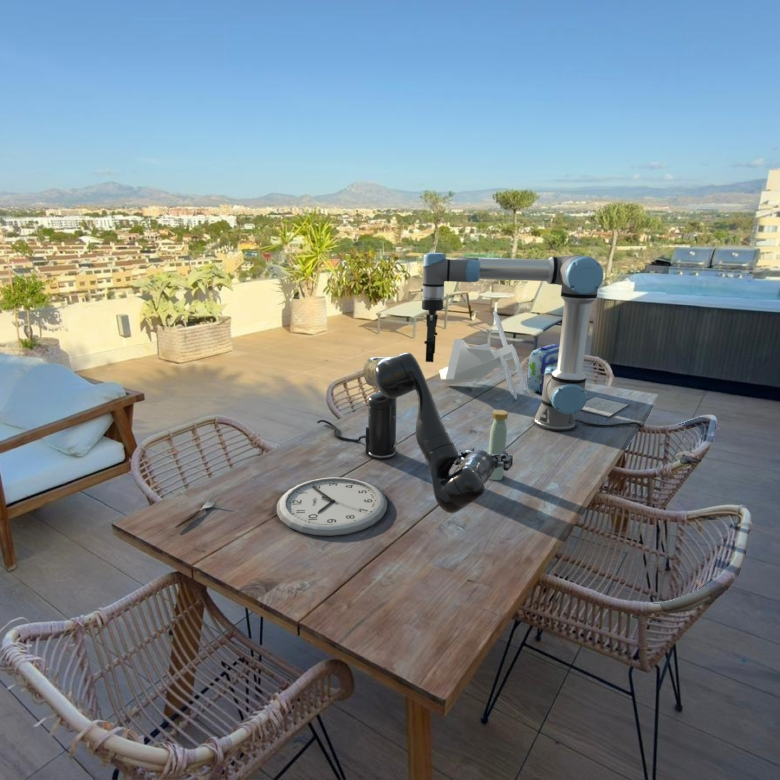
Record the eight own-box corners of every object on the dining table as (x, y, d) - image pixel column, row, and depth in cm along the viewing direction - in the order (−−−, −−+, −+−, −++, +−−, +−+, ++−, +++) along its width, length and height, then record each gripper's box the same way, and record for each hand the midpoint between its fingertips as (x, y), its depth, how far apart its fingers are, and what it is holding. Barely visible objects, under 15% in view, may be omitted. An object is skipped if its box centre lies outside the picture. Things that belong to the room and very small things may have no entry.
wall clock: (392, 527, 129) (268, 531, 127) (391, 533, 130) (269, 537, 127) (383, 473, 158) (282, 475, 155) (383, 478, 158) (282, 480, 156)
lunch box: (543, 396, 238) (548, 352, 231) (522, 391, 245) (526, 347, 239) (570, 385, 255) (575, 343, 249) (550, 381, 262) (555, 340, 256)
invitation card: (608, 416, 214) (573, 407, 224) (608, 416, 214) (573, 408, 224) (628, 404, 229) (594, 396, 238) (628, 405, 229) (594, 397, 238)
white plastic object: (461, 429, 252) (437, 405, 227) (444, 352, 274) (420, 323, 250) (535, 404, 240) (518, 377, 215) (510, 326, 262) (492, 293, 237)
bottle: (503, 480, 159) (509, 416, 152) (487, 479, 159) (492, 415, 153) (501, 473, 163) (507, 411, 157) (486, 472, 163) (491, 410, 157)
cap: (508, 420, 153) (508, 415, 152) (493, 419, 153) (493, 414, 153) (506, 415, 157) (506, 410, 157) (491, 414, 157) (491, 409, 157)
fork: (171, 528, 130) (170, 521, 130) (212, 499, 145) (211, 492, 144) (179, 530, 129) (178, 523, 129) (220, 500, 144) (219, 494, 143)
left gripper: (506, 457, 122) (515, 442, 137) (447, 451, 128) (462, 437, 142) (505, 488, 123) (514, 469, 138) (446, 480, 129) (462, 463, 144)
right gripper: (424, 293, 195) (422, 349, 202) (419, 302, 172) (417, 365, 178) (444, 294, 195) (441, 350, 201) (442, 303, 171) (439, 366, 177)
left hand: (488, 453), depth 140 cm, fingers open, 8 cm apart
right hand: (430, 357), depth 190 cm, fingers open, 13 cm apart
